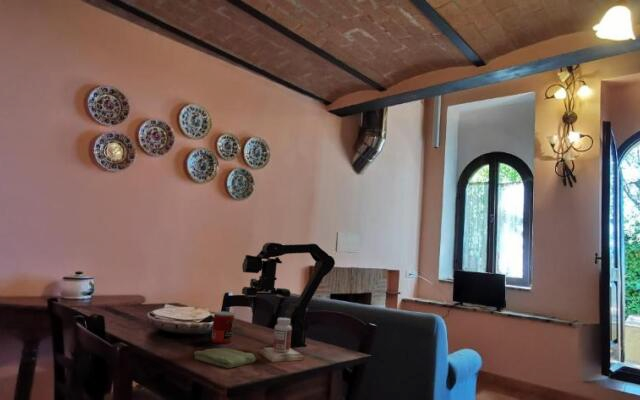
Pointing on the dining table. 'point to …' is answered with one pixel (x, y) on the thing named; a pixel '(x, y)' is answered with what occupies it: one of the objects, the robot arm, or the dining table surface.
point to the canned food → (223, 327)
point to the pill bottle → (282, 335)
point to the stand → (280, 355)
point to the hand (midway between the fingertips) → (264, 314)
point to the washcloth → (225, 357)
